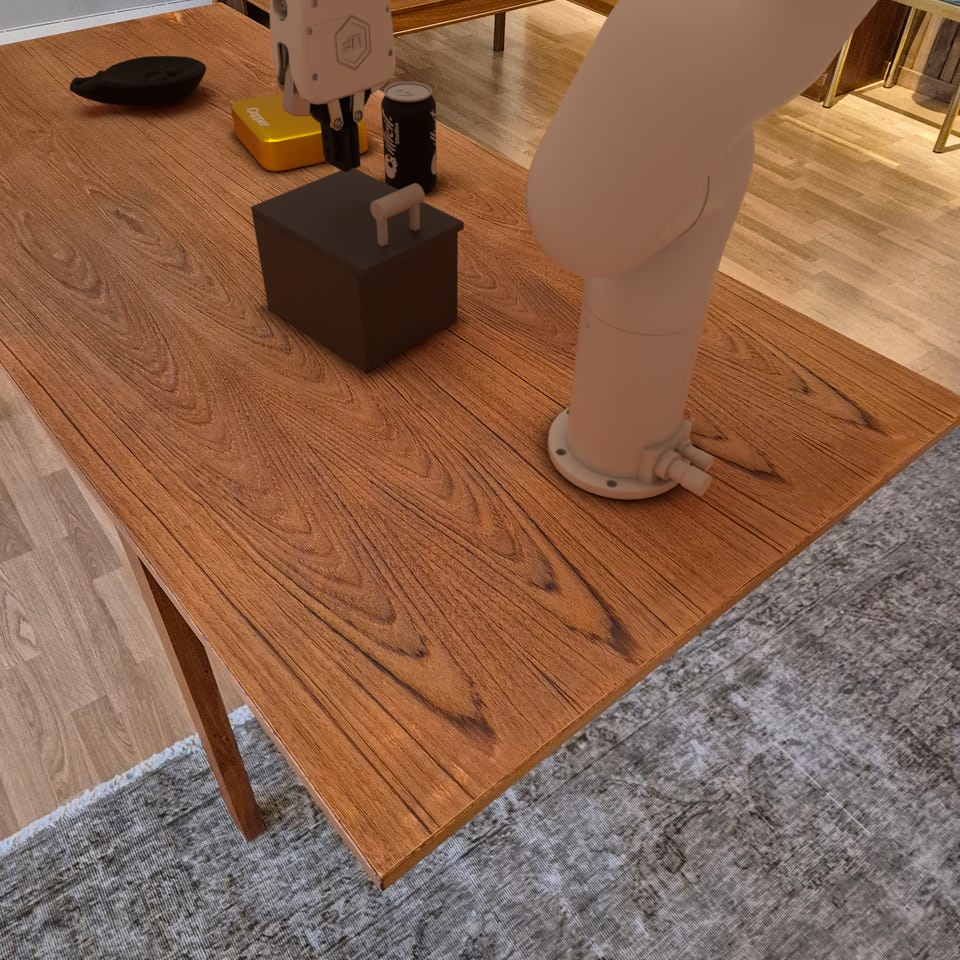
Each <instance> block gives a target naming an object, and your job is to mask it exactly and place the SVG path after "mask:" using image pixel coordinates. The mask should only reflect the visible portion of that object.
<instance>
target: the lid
mask: <svg viewBox="0 0 960 960" xmlns="http://www.w3.org/2000/svg"><path fill="white" fill-rule="evenodd" d="M425 198H426V195H425V193H424V191H423V189H422V187H421V186H420V185H419V184H416V183H414V184H412V185H409V186H407V187H405V188H403V189H400V190H398V189H396V188H394V187H392V186H390V185H388V184H387V183H386V182H383V181H381V180H380V179H378V178H376V177H374V176H371V175H369V174H368V173H365V172H364V171H361V170H360V169H358V168H352V169H351V170H350V171H348V172H344V171H342V170H338V171H336V172H333V173H331V174H328V175H326V176H323V177H321V178H318V179H315V180H313V181H311V182H308V183H306V184H304V185H301V186H298V187H296V188H293V189H291V190H289V191H286V192H283V193H281V194H278V195H276V196H273V197H271V198H269V199H266V200H263V201H261V202H259V203H256V204H253V205H251V206H250V210H251V214H252V215H255V216H257V217H258V218H260V219H262V220H264V221H265V222H267V223H269V224H271V225H272V226H274V227H276V228H277V229H279V230H281V231H283V232H284V233H286V234H288V235H290V236H291V237H293V238H295V239H297V240H298V241H300V242H302V243H303V244H305V245H307V246H309V247H310V248H312V249H314V250H316V251H317V252H319V253H321V254H322V255H324V256H326V257H328V258H329V259H331V260H333V261H335V262H336V263H338V264H340V265H341V266H343V267H345V268H347V269H348V270H350V271H352V272H354V273H355V274H357V275H359V276H361V277H362V278H366V277H368V276H370V275H372V274H374V273H376V272H378V271H380V270H382V269H384V268H386V267H388V266H390V265H392V264H394V263H396V262H398V261H400V260H402V259H404V258H406V257H408V256H410V255H412V254H415V253H417V252H419V251H421V250H423V249H425V248H427V247H429V246H431V245H433V244H435V243H437V242H439V241H441V240H443V239H445V238H447V237H449V236H451V235H453V234H455V233H457V232H458V233H459V232H461V231H463V230H464V228H465V222H464V221H463V220H461V219H459V218H457V217H455V216H453V215H451V214H449V213H447V212H445V211H443V210H441V209H439V208H436V207H435V206H433V205H430V204H429V203H427V202H424V201H425Z"/></svg>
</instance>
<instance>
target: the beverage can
mask: <svg viewBox="0 0 960 960" xmlns="http://www.w3.org/2000/svg"><path fill="white" fill-rule="evenodd" d="M432 94H433V89H432V87H431V86H429V85H427V84H425V83H423V82H418V81H398V82H394V83H391V84H388V85H387V86H385V87H384V89H383V95H384V96H383V97H382V100H381V103H380V108H381V124H382V125H381V127H382V141H383V143H382V145H383V160H384V163H383V164H384V176H385V177H384V178H385V179H384V180H385V183H386V184H388V185H390V186H392V187H394V188H396V189H398V190H400V189H403V188H405V187H407V186H409V185H412V184H414V183H416V184H419V185H420V186H421V187H422V189H423V191H424V194H425V193H427V192H429V191H430V190H431V189H432V188H433V187H435V184H436V183H437V181H438V170H437V169H438V168H437V167H438V166H437V165H438V164H437V163H438V162H437V102H436V100H435V98H434V96H433V95H432Z"/></svg>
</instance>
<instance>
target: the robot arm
mask: <svg viewBox="0 0 960 960" xmlns="http://www.w3.org/2000/svg"><path fill="white" fill-rule="evenodd" d="M878 1H879V0H618V2H617V3H616V4H615V5H614V7H613V8H612V10H611V11H610V13H609V14H608V16H607V17H606V19H605V20H604V22H603V23H602V26H601V27H600V29H599V31H598V33H597V35H596V36H595V38H594V40H593V42H592V44H591V45H590V47H589V49H588V52H587V53H586V55H585V56H584V58H583V61H582V63H581V64H580V66H579V68H578V69H577V72H576V74H575V75H574V77H573V80H572V81H571V83H570V85H569V87H568V89H567V91H566V92H565V95H564V96H563V98H562V100H561V102H560V104H559V106H557V109H556V111H555V113H554V115H553V117H552V119H551V120H550V123H549V124H548V126H547V128H546V129H545V132H544V134H543V136H542V137H541V140H540V141H539V144H538V146H537V148H536V150H535V153H534V155H533V157H532V160H531V163H530V167H529V169H528V174H527V178H526V184H525V185H526V186H525V211H526V217H527V222H528V225H529V228H530V230H531V234H532V236H533V238H534V240H535V242H536V244H537V246H538V247H539V249H540V250H541V251H542V253H543V254H544V256H545V257H546V258H547V259H548V260H549V261H551V263H553V264H554V265H556V267H558V268H559V269H561V270H564V271H565V272H567V273H570V274H573V275H575V276H579V277H583V278H584V282H583V289H582V290H583V291H582V296H581V305H580V314H579V323H578V331H577V339H576V348H575V357H574V366H573V374H572V382H571V391H570V399H569V406H568V407H566V408H565V409H564V410H562V411H561V412H560V413H559V414H558V415H557V416H556V417H555V418H554V419H553V421H552V423H551V425H550V428H549V431H548V435H547V436H548V437H547V452H548V455H549V459H550V460H551V462H552V464H553V466H554V467H555V469H556V470H557V471H558V472H559V474H560V475H562V477H564V478H565V479H566V480H567V481H569V482H570V483H572V485H574V486H576V487H578V488H580V489H582V490H584V491H586V492H588V493H591V494H594V495H596V496H601V497H605V498H608V499H614V500H615V499H617V500H626V501H627V500H641V499H647V498H651V497H656V496H659V495H661V494H664V493H667V492H668V491H670V490H671V489H673V488H675V487H676V486H678V485H679V484H680V487H682V488H683V489H686V490H687V491H689V492H691V493H692V494H693V495H696V496H698V497H702V496H703V495H704V494H705V493H706V492H707V491H708V489H709V488H710V486H711V484H712V482H713V476H712V475H710V474H708V473H707V472H708V471H709V470H710V469H711V468H712V466H713V464H714V462H715V457H714V456H713V455H711V454H709V453H708V452H706V451H704V450H703V449H699V448H697V447H695V446H694V445H693V441H692V440H691V438H690V437H691V433H692V430H693V425H694V423H693V422H691V421H689V420H688V419H686V418H684V412H685V409H686V405H687V400H688V396H689V391H690V387H691V383H692V379H693V375H694V371H695V366H696V362H697V357H698V353H699V350H700V345H701V341H702V336H703V332H704V328H705V323H706V319H707V315H708V312H709V309H710V302H711V299H712V295H713V291H714V288H715V283H716V279H717V275H718V272H719V268H720V264H721V261H722V258H723V255H724V252H725V249H726V247H727V243H728V241H729V237H730V235H731V232H732V230H733V227H734V224H735V222H736V219H737V217H738V215H739V212H740V209H741V206H742V204H743V202H744V198H745V196H746V193H747V190H748V188H749V183H750V180H751V176H752V173H753V169H754V168H753V167H754V162H755V161H754V160H755V151H756V150H755V148H756V144H755V143H756V141H755V132H754V126H755V125H756V124H758V123H760V122H761V121H763V120H764V119H766V118H767V117H769V116H771V115H772V114H773V113H775V112H777V111H778V110H780V109H781V108H783V107H784V106H786V105H788V104H789V103H791V102H792V101H794V100H795V99H796V98H797V97H798V96H800V95H801V94H802V93H804V92H805V91H807V90H808V89H809V88H810V87H811V86H812V85H813V84H814V83H815V82H816V81H817V80H818V79H819V78H820V77H821V76H822V75H823V74H824V72H825V71H826V70H827V69H828V68H829V66H830V65H831V63H832V62H833V61H834V59H835V57H837V55H838V54H839V52H840V51H841V49H842V48H843V47H844V45H845V44H846V43H847V41H848V40H849V38H850V37H851V36H852V35H853V33H854V32H855V30H856V29H857V28H858V26H859V25H860V24H861V23H862V22H863V20H864V19H865V18H866V16H867V15H868V14H869V12H870V11H871V10H872V9H873V7H874V6H875V5H876V3H877V2H878ZM392 18H393V17H392V11H391V3H390V0H269V27H270V28H269V29H270V30H269V31H270V43H271V51H272V61H273V68H274V74H275V78H276V82H277V85H278V87H279V89H280V90H282V91H283V92H284V100H283V109H284V111H285V112H287V113H289V114H291V115H293V116H312V117H313V118H314V120H315V121H317V122H319V123H320V125H321V134H322V143H323V153H324V156H325V160H326V162H325V163H327V164H328V165H330V166H332V167H334V168H336V169H339V171H341V170H342V171H344V172H348V171H350V170H351V169H352V168H355V169H358V168H360V167H361V154H360V145H359V132H358V123H360V122H361V121H362V119H363V116H364V117H365V113H364V112H365V106H366V105H367V102H368V100H369V99H370V97H371V95H373V94H374V93H376V92H377V91H379V90H380V89H381V88H383V87H385V86H386V83H387V81H389V80H390V79H391V78H392V76H393V75H394V74H395V71H396V51H395V49H396V48H395V37H394V28H393V27H394V25H393V19H392ZM691 464H692V465H691Z"/></svg>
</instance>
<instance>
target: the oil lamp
mask: <svg viewBox="0 0 960 960" xmlns="http://www.w3.org/2000/svg"><path fill="white" fill-rule="evenodd" d="M206 72H207V66H206V63H203V62H202V61H200V60H198V59H196V58H194V57H189V56H179V55H152V56H151V55H150V56H149V55H148V56H141V57H135V58H130V59H127V60H124V61H120V62H118V63H114V64H112V65H110V66H109V67H107V68H106V69H105V70H98V71H97V72H96V73H95V74H94V75H92V76H86V77H78V76H76V77H74V78H73V79H72V80H71V82H70V85H69V91H70V92H71V93H73V94H75V95H77V96H79V97H81V98H83V99H86V100H89V101H92V102H95V103H100V104H104V105H105V104H107V105H115V106H128V107H129V106H130V107H143V108H152V107H162V106H169V105H173V104H177V103H180V102H182V101H184V100H186V99H188V98H189V97H191V96H192V95H193V93H194V92H195V91H196V90H197V88H198V87H199V85H200V83H201V82H202V80H203V78H204V76H205V74H206Z"/></svg>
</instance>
